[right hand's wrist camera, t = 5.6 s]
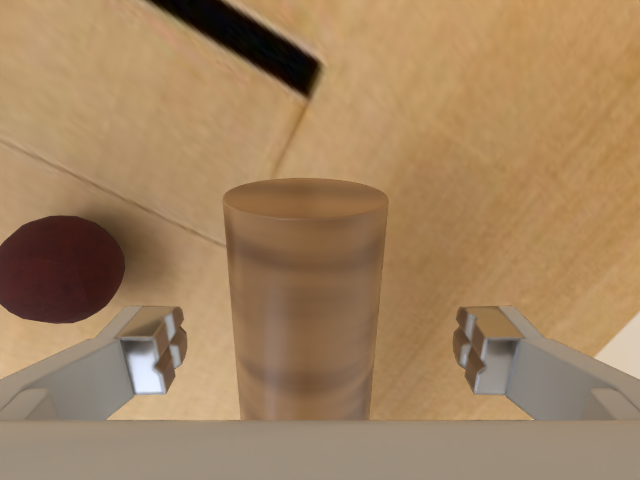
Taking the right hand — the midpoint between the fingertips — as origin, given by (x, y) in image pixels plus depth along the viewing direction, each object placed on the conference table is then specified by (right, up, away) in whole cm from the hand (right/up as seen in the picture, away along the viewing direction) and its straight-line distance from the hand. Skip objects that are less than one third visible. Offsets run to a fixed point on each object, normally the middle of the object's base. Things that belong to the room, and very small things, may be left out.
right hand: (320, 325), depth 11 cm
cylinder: (-1, -7, +11) cm, 13 cm away
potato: (-18, +2, +18) cm, 25 cm away
